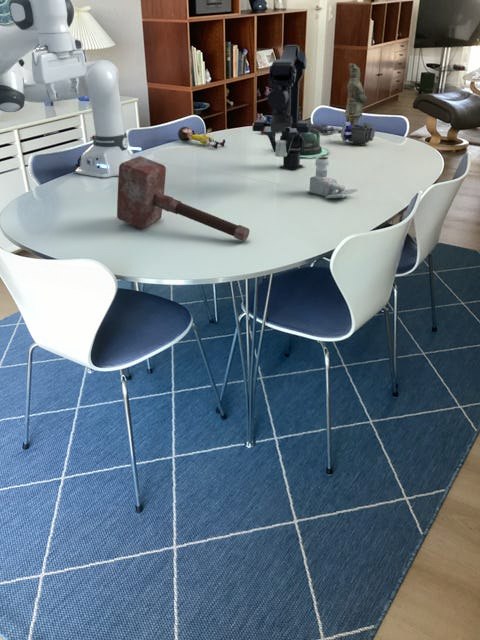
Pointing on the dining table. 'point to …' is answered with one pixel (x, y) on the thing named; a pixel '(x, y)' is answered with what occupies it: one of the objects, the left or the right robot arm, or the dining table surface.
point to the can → (281, 148)
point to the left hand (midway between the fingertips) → (64, 96)
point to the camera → (326, 182)
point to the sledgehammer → (158, 199)
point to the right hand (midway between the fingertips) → (281, 152)
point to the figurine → (197, 137)
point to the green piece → (312, 144)
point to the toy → (357, 133)
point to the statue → (354, 96)
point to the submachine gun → (317, 127)
